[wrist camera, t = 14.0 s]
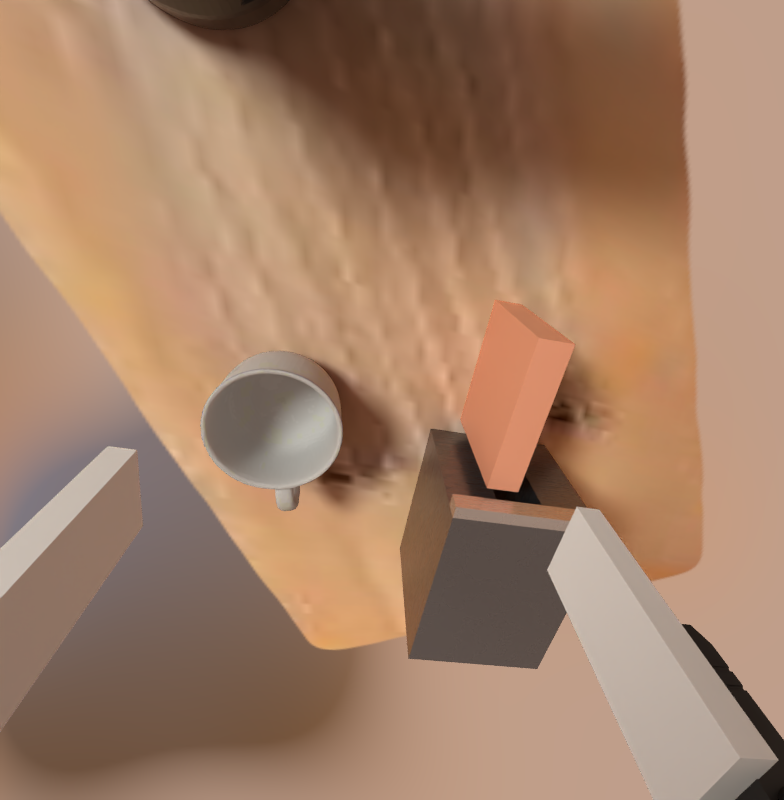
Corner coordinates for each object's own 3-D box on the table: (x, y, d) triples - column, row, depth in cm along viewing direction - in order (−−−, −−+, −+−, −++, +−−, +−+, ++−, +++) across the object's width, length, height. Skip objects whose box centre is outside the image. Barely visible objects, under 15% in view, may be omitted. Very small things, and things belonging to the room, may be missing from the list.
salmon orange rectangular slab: (494, 299, 37) (539, 338, 27) (522, 304, 38) (575, 344, 28) (460, 419, 42) (486, 488, 32) (484, 422, 43) (518, 492, 33)
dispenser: (433, 420, 42) (456, 507, 30) (547, 437, 44) (611, 526, 32) (399, 548, 49) (408, 658, 38) (499, 559, 51) (537, 668, 39)
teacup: (231, 329, 38) (197, 362, 30) (354, 347, 39) (350, 382, 31) (230, 461, 43) (202, 515, 36) (337, 473, 45) (330, 527, 37)
